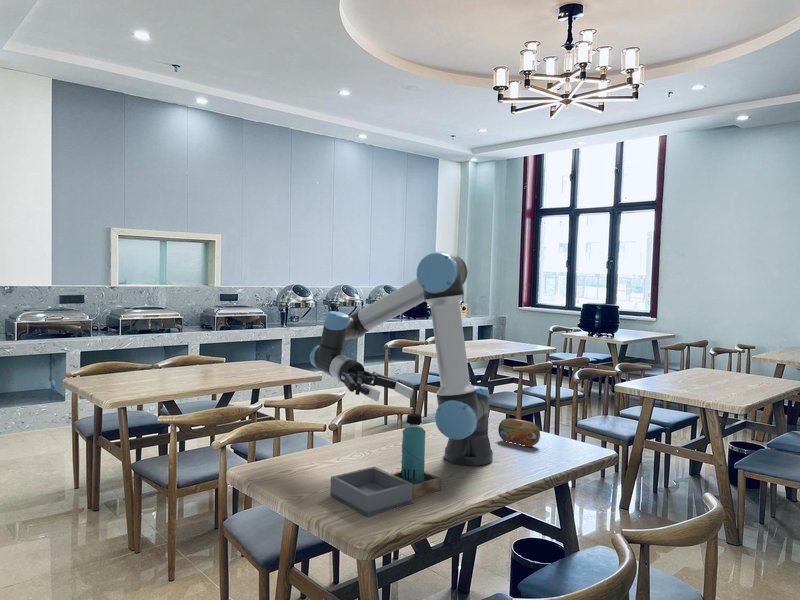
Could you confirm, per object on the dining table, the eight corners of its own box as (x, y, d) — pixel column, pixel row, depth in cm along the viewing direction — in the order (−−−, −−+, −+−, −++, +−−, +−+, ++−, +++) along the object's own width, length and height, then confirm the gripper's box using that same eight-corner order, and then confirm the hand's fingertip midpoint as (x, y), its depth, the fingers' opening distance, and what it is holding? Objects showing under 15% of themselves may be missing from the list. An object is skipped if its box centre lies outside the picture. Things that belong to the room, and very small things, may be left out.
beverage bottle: (421, 483, 161) (423, 411, 160) (426, 492, 154) (428, 417, 153) (398, 483, 160) (400, 411, 159) (402, 492, 153) (404, 417, 152)
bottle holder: (414, 477, 165) (414, 467, 165) (441, 489, 156) (441, 478, 156) (383, 486, 158) (384, 475, 158) (410, 498, 149) (410, 487, 149)
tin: (497, 440, 204) (498, 416, 204) (501, 438, 207) (502, 415, 206) (536, 449, 195) (537, 424, 194) (541, 447, 197) (541, 423, 197)
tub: (373, 484, 159) (374, 466, 158) (412, 503, 146) (412, 483, 146) (330, 495, 150) (330, 476, 150) (367, 516, 137) (367, 496, 137)
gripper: (374, 381, 187) (421, 405, 173) (312, 383, 169) (360, 410, 155) (379, 359, 186) (427, 381, 172) (318, 359, 168) (366, 384, 154)
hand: (395, 395), depth 163 cm, fingers open, 13 cm apart
